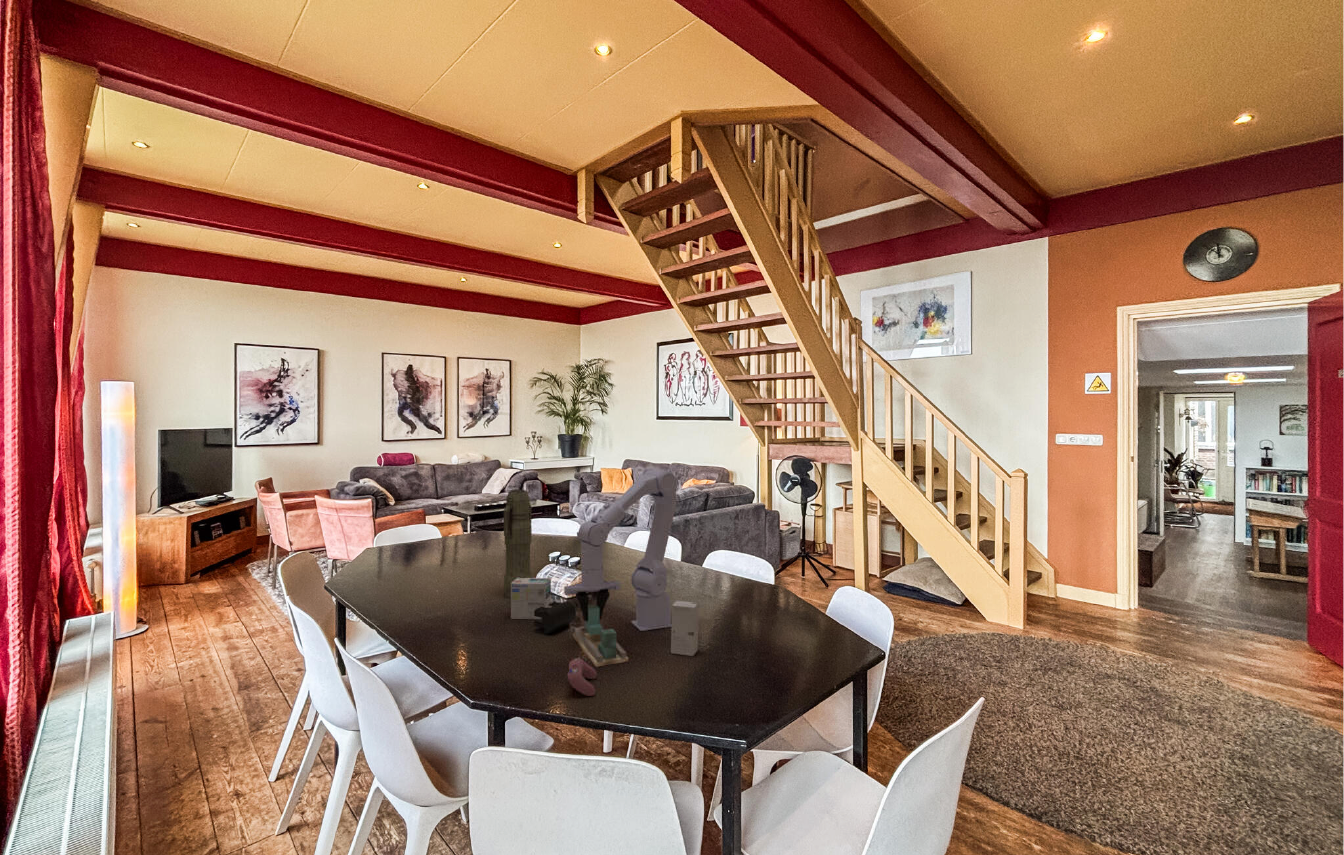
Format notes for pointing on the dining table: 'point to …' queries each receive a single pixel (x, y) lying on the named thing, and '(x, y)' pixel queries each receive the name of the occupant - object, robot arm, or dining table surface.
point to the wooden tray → (600, 646)
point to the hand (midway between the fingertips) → (592, 619)
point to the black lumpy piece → (554, 616)
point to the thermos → (517, 537)
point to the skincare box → (684, 628)
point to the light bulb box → (529, 596)
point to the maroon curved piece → (581, 676)
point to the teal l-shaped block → (593, 620)
